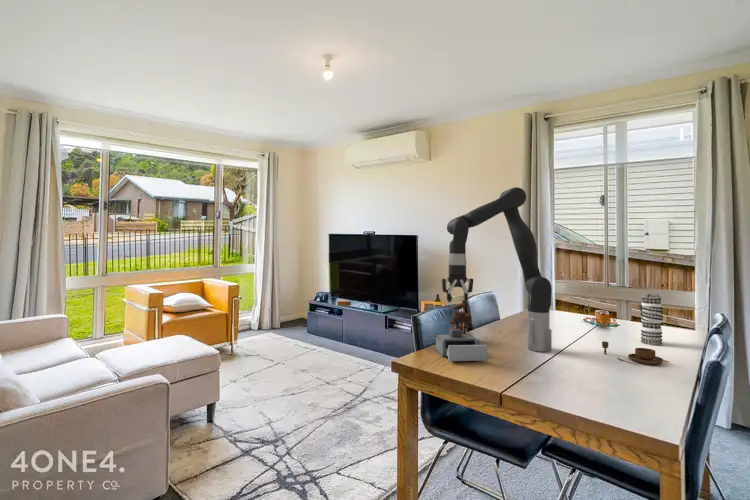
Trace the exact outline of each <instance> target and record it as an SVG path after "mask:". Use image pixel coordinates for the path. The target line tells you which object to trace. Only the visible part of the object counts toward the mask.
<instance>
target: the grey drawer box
mask: <svg viewBox="0 0 750 500" xmlns="http://www.w3.org/2000/svg"><path fill="white" fill-rule="evenodd" d="M462 332H463V330H460V329H459V328H458V329H454V328H453V329H451V328H449V333H447V334H446V333H444V334H443V333H441V334H440V333H439V334H435V351H436V352H437V353H438V354H439V355H440V356H441V357H442V358H448V356H447V355H446V354H445V348H448V345H481V344H480V339H479V338H477V337H475V336H473V335H472V334H470V333H466V334H462Z"/></svg>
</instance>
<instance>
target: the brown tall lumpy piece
mask: <svg viewBox="0 0 750 500" xmlns="http://www.w3.org/2000/svg"><path fill="white" fill-rule="evenodd" d="M465 306H466V303H465V302H460V303H457V304H455V305H453V306H451V307H448V309H451V310H452V309H453V310H455V312H452V315H451V317H452V320H450V321H449V324H450V325H451V326H450V329H460V330H462V334H467V333H466V331H467V329H469V328H470V324H471V321H472V315H471V314H470V313H468V312H465V311H466V310H465ZM461 309H463V310H461ZM453 325H454V327H453Z"/></svg>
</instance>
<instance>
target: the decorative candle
mask: <svg viewBox="0 0 750 500" xmlns="http://www.w3.org/2000/svg"><path fill="white" fill-rule="evenodd" d="M662 305H663V304H662V297H661V296H660V294H658V293H652V292H651V293H648V292H646V293H644V294H643V295H641V305H640V306H639V308H640V321H641V329H640V332H641V333H640V335H641V337H640V342H641V343H642V344H644V345H649V346H657V347H658V346H662V345H663V332H662V331H663V330H662V323H663V320H664V319H663V317H664V316H663V315H662V314H663V313H664V311H663V310H664V308H663V307H662Z"/></svg>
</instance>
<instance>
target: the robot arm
mask: <svg viewBox="0 0 750 500" xmlns="http://www.w3.org/2000/svg"><path fill="white" fill-rule="evenodd" d="M526 201H527V193H526V191H525V190H524V189H523V188H522V187H516V186H515V187H510V188H509V189H506V190H505V191H502V192H501V193H500V194H499V198H497V199H495V200H492V201H490V202H488V203H485V204H483V205H480V206H479V207H477V208H474V209H473V210H470V211H469V212H467V213H465V214H462V215H459V216H457V217H454V218H452V219H450V221H449V222H448V223H447V226H446V231H447V232H448V233H449V234H451V235H453V237H452V240H450V242H449V244H448V245H449V247H448V248H449V249H448V250H449V252H448V253H449V255H448V277H446V278H444V277H442V278H441V288H442V292H443V293H446V301H447V302H448V303H452V300H451V296H452V294H451V292H452V291H453V289H454V288H461V289H462V292H463V296H465V300H463V303H467V302H468V300H469V297H468V296H469V293H472V292H473V288H474V278H471V277H470V278H469V277H468V278H467V255H466V253H467V252H466V249H467V247H466V244H467V240H468V235H469V231H470V230H469V229H470V228H475V227H477V226H479V225H480V224H483V223H484V222H487V221H488V220H490V219H492V218H494V217H496V216H498V215H499V214H502V213H503V215H504V217H505V219H506V222H507V226H508V229H509V232H510V234H511V238H512V242H513V245H514V249H515V251H516V254H517V257H518V258H517V259H518V261H519V263H520V267H521V270H522V274H523V280H524V284H525V285H524V286H525V289H526V291H527V292H528V294H529V295H530V297H529V304H528V305H527V349H528V350H530V351H533V352H534V351H535V352H550V351H552V348H553V347H552V340H553V339H552V337H553V336H552V329H551V328H550V326H551V325H550V323H551V322H550V311H551V310H550V309H551V306H552V288H553V287H552V283H551V282H550V280H549V279H548V278H546V277H545V276H544V277H543V276H542V274H541V272H540V269H539V265H538V247H537V243H536V239H535V236H534V233H533V232H532V230H531V228H530V227H529V226H528V225H527V224H526V222H525V221H524V220H523V219H522V218H523V217H521V213H520V211H519V208H521V206H523V205H524V204H525V202H526ZM447 282H449V286H448V288H447ZM466 282H467V283H468V286H466ZM467 287H468V288H467Z"/></svg>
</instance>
